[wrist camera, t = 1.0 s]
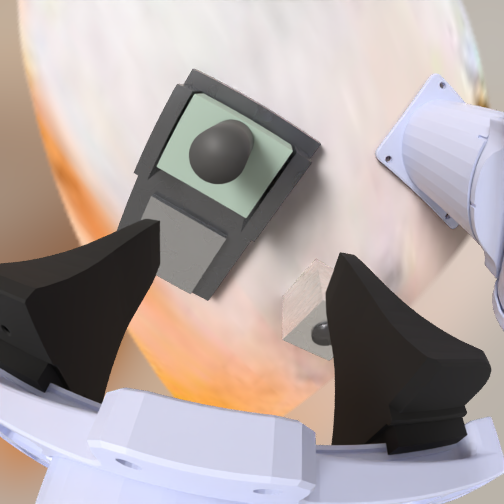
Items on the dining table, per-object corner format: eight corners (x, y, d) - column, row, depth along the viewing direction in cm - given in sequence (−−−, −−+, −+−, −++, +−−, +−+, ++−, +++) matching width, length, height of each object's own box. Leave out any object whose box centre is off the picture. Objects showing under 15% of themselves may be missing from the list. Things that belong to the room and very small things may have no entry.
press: (318, 141, 18) (326, 151, 15) (210, 293, 25) (202, 319, 22) (197, 69, 16) (181, 66, 13) (116, 240, 23) (98, 261, 20)
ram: (291, 144, 17) (297, 169, 12) (249, 205, 19) (238, 252, 14) (203, 93, 15) (170, 95, 10) (168, 158, 18) (126, 188, 13)
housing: (357, 283, 23) (371, 328, 19) (323, 317, 26) (329, 362, 21) (315, 257, 23) (323, 301, 18) (282, 295, 25) (282, 341, 20)
